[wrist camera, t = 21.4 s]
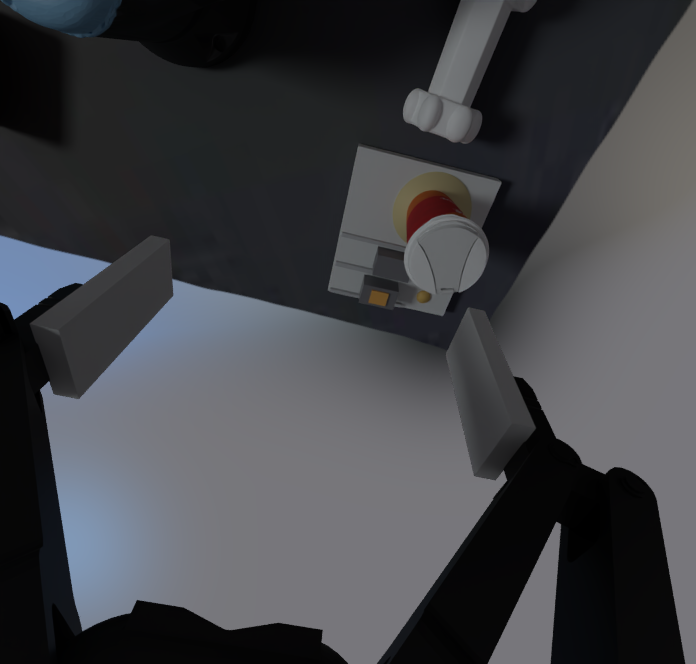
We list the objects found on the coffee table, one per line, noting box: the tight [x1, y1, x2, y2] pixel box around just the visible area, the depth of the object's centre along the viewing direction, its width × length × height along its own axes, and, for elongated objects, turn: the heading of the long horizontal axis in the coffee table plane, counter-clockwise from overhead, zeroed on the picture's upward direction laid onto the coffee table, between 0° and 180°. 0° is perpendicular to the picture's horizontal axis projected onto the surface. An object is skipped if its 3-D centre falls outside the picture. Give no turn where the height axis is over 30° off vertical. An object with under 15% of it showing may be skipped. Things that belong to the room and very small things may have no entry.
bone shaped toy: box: [403, 0, 537, 144], centre depth 37 cm, size 15×9×8 cm, turn 163°
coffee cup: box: [404, 190, 489, 295], centre depth 42 cm, size 8×8×15 cm
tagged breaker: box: [359, 274, 399, 310], centre depth 53 cm, size 5×3×3 cm, turn 78°
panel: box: [328, 143, 502, 316], centre depth 50 cm, size 18×20×5 cm
